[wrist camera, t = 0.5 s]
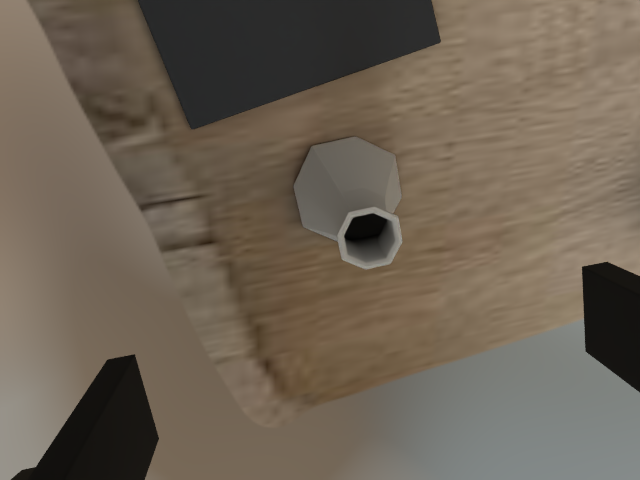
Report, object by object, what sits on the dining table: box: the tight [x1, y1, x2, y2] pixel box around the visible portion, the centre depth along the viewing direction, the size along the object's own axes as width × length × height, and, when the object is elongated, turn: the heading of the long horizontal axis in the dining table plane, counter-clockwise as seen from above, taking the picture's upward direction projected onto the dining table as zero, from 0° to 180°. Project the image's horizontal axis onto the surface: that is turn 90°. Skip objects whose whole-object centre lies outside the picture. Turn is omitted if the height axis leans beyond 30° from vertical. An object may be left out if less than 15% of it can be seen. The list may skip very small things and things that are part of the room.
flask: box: [294, 136, 402, 269], centre depth 29 cm, size 7×7×10 cm
